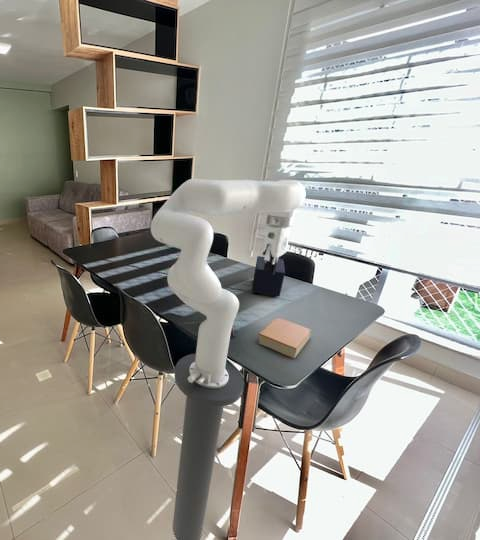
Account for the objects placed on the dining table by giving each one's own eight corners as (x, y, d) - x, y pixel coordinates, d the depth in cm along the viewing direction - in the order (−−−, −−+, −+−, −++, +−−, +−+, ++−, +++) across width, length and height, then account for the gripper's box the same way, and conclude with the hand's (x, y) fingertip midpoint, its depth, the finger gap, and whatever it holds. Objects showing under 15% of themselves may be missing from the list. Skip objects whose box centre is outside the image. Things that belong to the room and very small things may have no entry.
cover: (296, 350, 99) (296, 348, 99) (259, 334, 108) (259, 333, 108) (311, 330, 111) (311, 329, 110) (276, 318, 119) (276, 317, 119)
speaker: (253, 279, 166) (257, 254, 161) (278, 283, 161) (283, 257, 155) (251, 294, 148) (256, 267, 143) (279, 299, 143) (285, 271, 137)
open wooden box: (294, 358, 102) (296, 349, 100) (258, 343, 110) (259, 334, 109) (308, 339, 112) (311, 331, 111) (274, 326, 121) (276, 318, 119)
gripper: (283, 226, 85) (271, 283, 91) (300, 219, 94) (288, 271, 101) (257, 222, 90) (248, 276, 96) (276, 215, 99) (266, 265, 106)
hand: (268, 273), depth 99 cm, fingers closed
